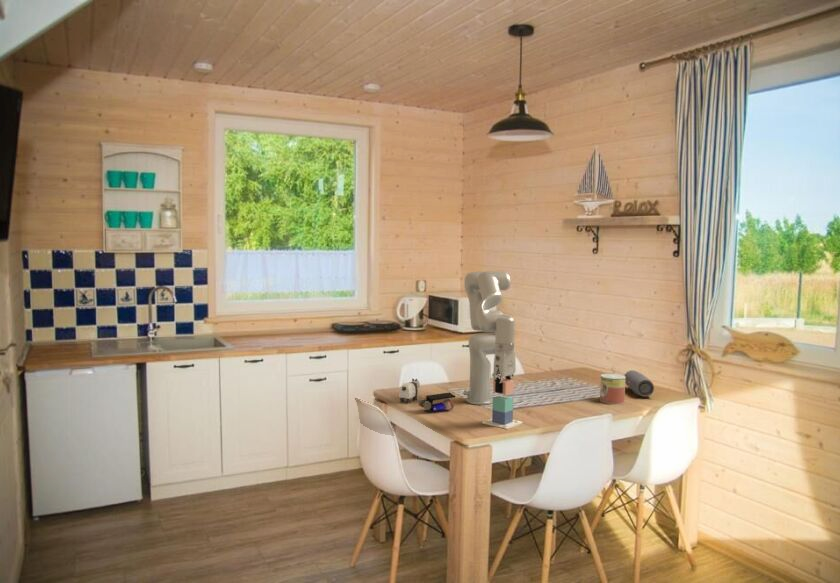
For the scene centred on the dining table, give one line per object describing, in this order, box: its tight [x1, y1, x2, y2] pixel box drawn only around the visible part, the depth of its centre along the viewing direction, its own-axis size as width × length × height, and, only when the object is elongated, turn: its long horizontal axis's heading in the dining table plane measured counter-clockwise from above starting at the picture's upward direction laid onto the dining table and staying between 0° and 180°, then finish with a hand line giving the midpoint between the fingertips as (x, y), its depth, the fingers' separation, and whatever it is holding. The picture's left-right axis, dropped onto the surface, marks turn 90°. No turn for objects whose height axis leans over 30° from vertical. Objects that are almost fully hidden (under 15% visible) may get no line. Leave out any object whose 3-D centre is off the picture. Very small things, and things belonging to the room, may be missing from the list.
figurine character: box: [418, 392, 456, 414], centre depth 284 cm, size 7×8×15 cm
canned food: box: [599, 373, 626, 405], centre depth 307 cm, size 11×11×12 cm
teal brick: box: [492, 395, 514, 413], centre depth 267 cm, size 6×6×5 cm
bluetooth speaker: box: [624, 370, 655, 397], centre depth 324 cm, size 23×9×10 cm, turn 178°
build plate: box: [481, 409, 524, 430], centre depth 267 cm, size 12×12×6 cm
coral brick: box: [492, 378, 515, 396], centre depth 266 cm, size 6×6×5 cm
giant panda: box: [398, 378, 421, 404], centre depth 303 cm, size 15×6×10 cm, turn 152°
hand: (503, 390), depth 266 cm, fingers closed on coral brick, 6 cm apart
